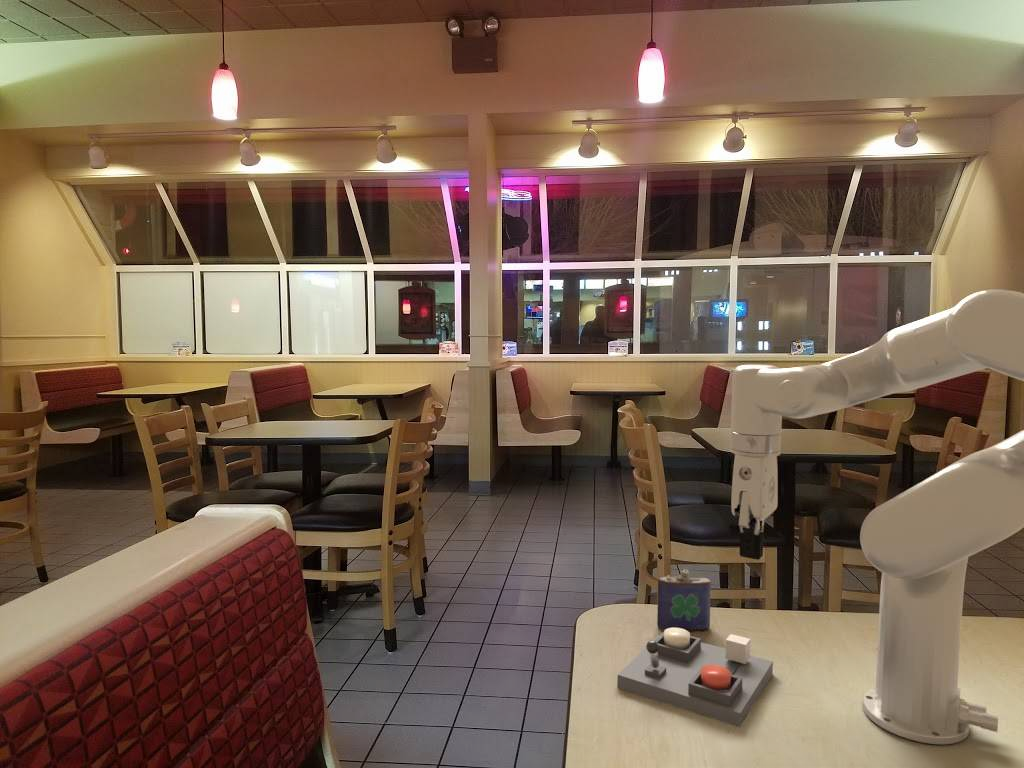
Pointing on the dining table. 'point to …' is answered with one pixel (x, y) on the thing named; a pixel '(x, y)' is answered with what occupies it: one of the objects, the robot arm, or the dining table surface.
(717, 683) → the red button
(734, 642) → the beige cube
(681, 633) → the ivory button
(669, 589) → the flask
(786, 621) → the dining table surface
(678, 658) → the panel
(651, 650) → the toggle lever
